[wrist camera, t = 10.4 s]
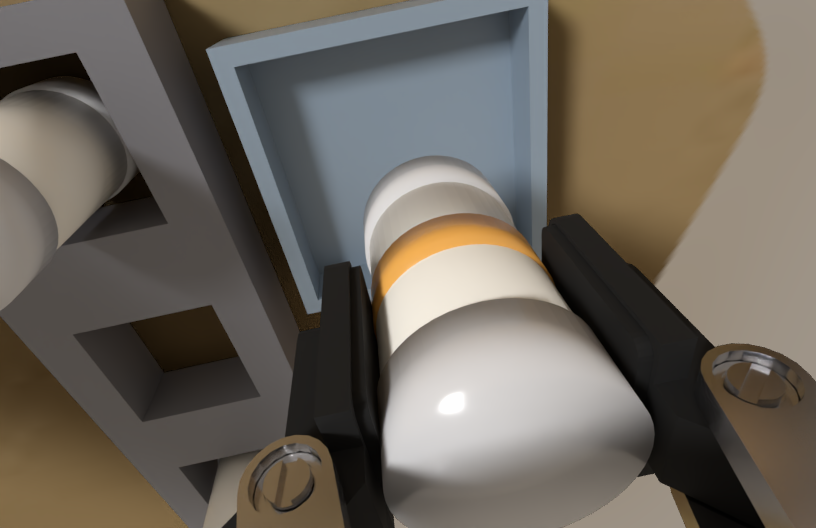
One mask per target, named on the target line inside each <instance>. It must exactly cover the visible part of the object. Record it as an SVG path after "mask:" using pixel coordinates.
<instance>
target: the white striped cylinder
mask: <svg viewBox="0 0 816 528" xmlns="http://www.w3.org/2000/svg"><path fill="white" fill-rule="evenodd" d="M363 226H364V240H365V254H366V261H367V265H368V268H369V271H370V273H371V278H372V284H371V304H372V315H373V327H374V333H375V337H376V340H377V346H378V358H379V369H380V378H379V381H378V387H377V402H378V415H379V428H380V441H381V468H382V481H383V493H384V497H385V501H386V504H387V506H388V508H389V510H390V511H391V513H392V514H393V515H394V516H395V517H396V519H397V520H399V521H400V522H401V523H402V524H403V525H405V526H406V527H408V528H562V527H565V526H567V525H570V524H572V523H574V522H576V521H578V520H580V519H582V518H584V517H586V516H588V515H590V514H592V513H594V512H595V511H597V510H598V509H600V508H601V507H603V506H605V505H606V504H608V503H609V502H610V501H612V500H613V499H614V498H616V497H617V496H618V495H619V494H620V493H622V492H623V491H624V490H625V489H626V488H627V487H628V486H629V485H630V484H631V483H632V482H633V481H634V480H635V479H636V477H637V476H638V475H639V473H640V472H641V471H642V469H643V468H644V466H645V464H646V463H647V461H648V459H649V457H650V454H651V451H652V448H653V444H654V436H655V433H654V424H653V421H652V419H651V416H650V414H649V412H648V411H647V409H646V408H645V406H644V405H643V403H642V402H641V400H640V399H639V397H638V396H637V395H636V393H635V392H634V390H633V389H632V387H631V386H630V384H629V383H628V382H627V380H626V379H625V377H624V376H623V374H622V373H621V371H620V370H619V369H618V367H617V366H616V364H615V363H614V361H613V360H612V358H611V357H610V356H609V354H608V353H607V351H606V350H605V348H604V347H603V345H602V344H601V343H600V341H599V340H598V338H597V337H596V335H595V334H594V332H593V331H592V330H591V328H590V327H589V326H588V325H587V324H586V323H585V322H584V321H583V320H582V319H581V318H580V317H578V316H577V315H576V314H574V313H573V312H572V311H571V309H570V308H569V306H568V305H567V303H566V302H565V301H564V299H563V298H562V296H561V295H560V293H559V292H558V290H557V289H556V286H555V283H554V281H553V279H552V277H551V275H550V274H549V272H548V271H547V269H546V268H545V266H544V265H543V263H542V262H541V260H540V259H539V257H538V256H537V254H536V253H535V251H534V250H533V249H532V247H531V246H530V244H529V243H528V241H527V240H526V238H525V237H524V236H523V235H522V234H521V233H520V232H519V231H518V230H517V229H516V227H515V226H514V223H513V220H512V216H511V214H510V212H509V210H508V208H507V207H506V205H505V204H504V202H503V201H502V199H501V198H500V197H499V195H498V194H497V192H496V191H495V189H494V188H493V186H492V185H491V184H490V182H489V181H488V179H487V178H486V177H485V176H484V175H483V174H482V172H481V171H479V170H478V169H477V168H476V167H474V166H473V165H471V164H469V163H467V162H465V161H463V160H460V159H457V158H454V157H450V156H441V155H435V156H424V157H419V158H415V159H412V160H409V161H407V162H405V163H402V164H401V165H399V166H397V167H395V168H394V169H392V170H391V171H390V172H388V173H387V174H386V175H385V176H384V177H383V178H382V179H381V180H380V181H379V182H378V184H377V185H376V186H375V187H374V189H373V191H372V192H371V194H370V196H369V198H368V201H367V203H366V207H365V210H364V218H363Z"/></svg>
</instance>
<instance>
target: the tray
mask: <svg viewBox="0 0 816 528" xmlns="http://www.w3.org/2000/svg"><path fill="white" fill-rule="evenodd" d="M206 52H207V54H208V57H209V59H210V62H211V65H212V67H213V70H214V72H215V75H216V78H217V80H218V83H219V85H220V88H221V91H222V93H223V96H224V98H225V101H226V103H227V106H228V109H229V111H230V114H231V116H232V119H233V122H234V124H235V127H236V129H237V132H238V135H239V137H240V140H241V142H242V145H243V148H244V150H245V153H246V155H247V158H248V161H249V163H250V166H251V168H252V171H253V173H254V176H255V179H256V181H257V184H258V186H259V189H260V192H261V194H262V197H263V199H264V202H265V205H266V207H267V210H268V212H269V215H270V218H271V220H272V223H273V225H274V228H275V231H276V233H277V236H278V238H279V241H280V243H281V246H282V249H283V251H284V254H285V256H286V259H287V262H288V264H289V267H290V269H291V272H292V275H293V277H294V280H295V282H296V285H297V288H298V290H299V293H300V295H301V298H302V301H303V303H304V306H305V308H306V311H307V313H308V314H311V313H316V312H321V304H322V289H323V275H324V267H325V266H327V265H332V264H337V263H342V262H346V261H350V263H351V265H352V267H355V266H359V265H360V266H361V268H362V272H363V275H364V279H365V282H366V286H367V290H368V293H369V297H370V301H371V284H372V278H371V273H370V271H369V268H368V265H367V261H366V254H365V240H364V226H363V218H364V210H365V207H366V203H367V201H368V198H369V196H370V194H371V192H372V191H373V189H374V187H375V186H376V185H377V184H378V182H379V181H380V180H381V179H382V178H383V177H384V176H385V175H386V174H387V173H388V172H390V171H391V170H392V169H394V168H395V167H397V166H399V165H401V164H402V163H405V162H407V161H409V160H412V159H415V158H419V157H424V156H435V155H441V156H450V157H454V158H457V159H460V160H463V161H465V162H467V163H469V164H471V165H473V166H474V167H476V168H477V169H478V170H479V171H481V172H482V174H483V175H484V176H485V177H486V178H487V179H488V181H489V182H490V184H491V185H492V186H493V188H494V189H495V191H496V192H497V194H498V195H499V197H500V198H501V199H502V201H503V202H504V204H505V205H506V207H507V208H508V210H509V212H510V214H511V216H512V220H513V223H514V226H515V227H516V229H517V230H518V231H519V232H520V233H521V234H522V235H523V236H524V237H525V238H526V240H527V241H528V243H529V244H530V246H531V247H532V249H533V250H534V251H535V253H536V254H537V256H538V257H539V259H540V260H541V262H542V238H541V234H542V228H543V227H546V226H547V91H548V0H410V1H405V2H400V3H395V4H390V5H385V6H381V7H376V8H371V9H366V10H361V11H356V12H351V13H347V14H342V15H337V16H332V17H327V18H322V19H317V20H313V21H308V22H303V23H298V24H293V25H288V26H283V27H279V28H274V29H269V30H264V31H259V32H254V33H249V34H244V35H240V36H235V37H230V38H225V39H223V40H221V41H219V42H218V43H216V44H214V45H212V46H211V47H209V48H207V49H206Z"/></svg>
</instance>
